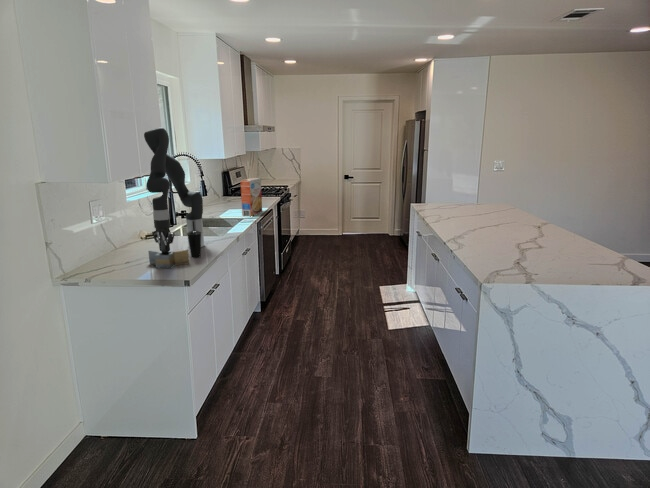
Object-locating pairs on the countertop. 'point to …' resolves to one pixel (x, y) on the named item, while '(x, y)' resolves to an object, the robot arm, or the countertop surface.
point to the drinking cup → (195, 242)
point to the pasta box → (251, 196)
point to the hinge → (168, 258)
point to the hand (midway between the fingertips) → (164, 251)
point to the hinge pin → (163, 246)
